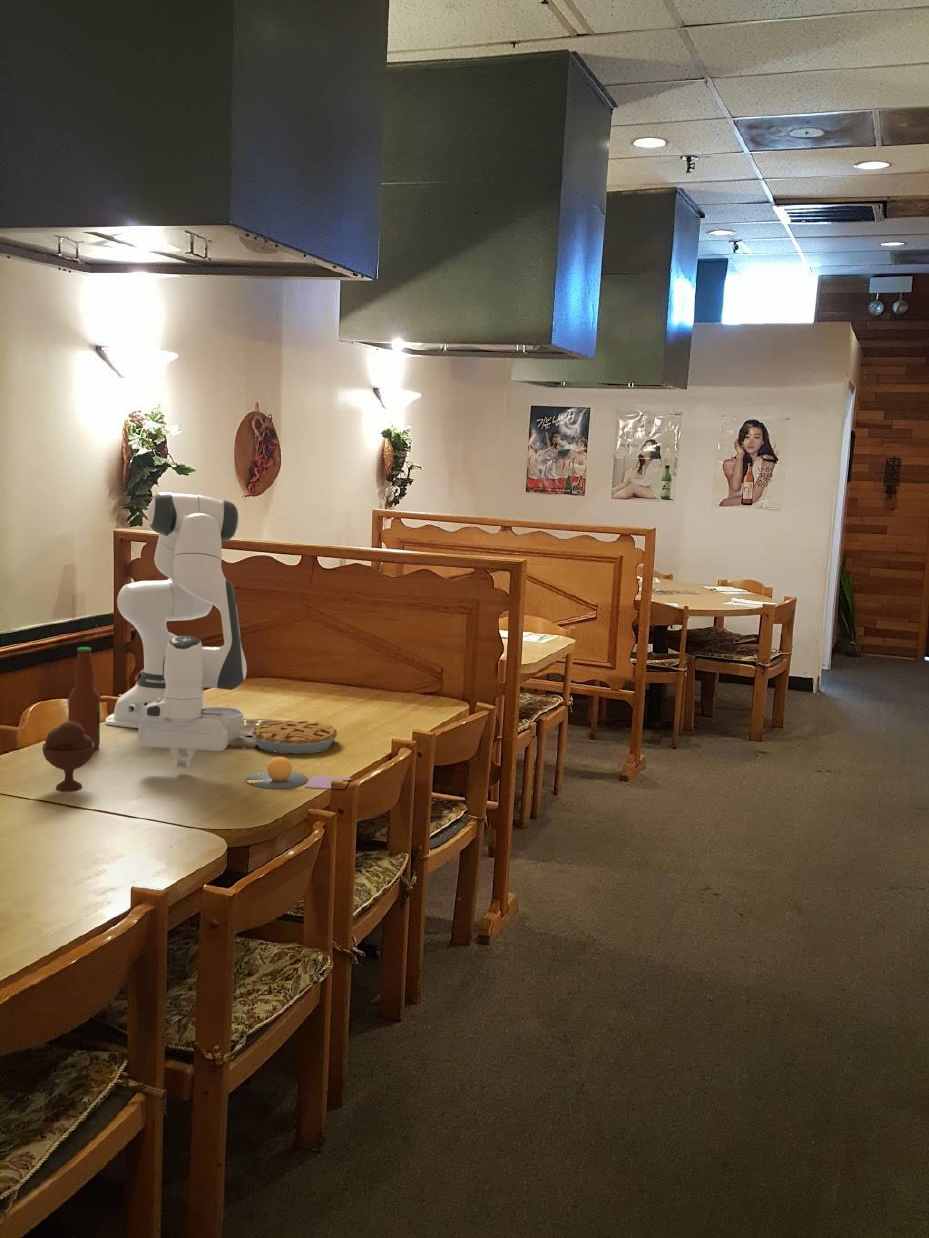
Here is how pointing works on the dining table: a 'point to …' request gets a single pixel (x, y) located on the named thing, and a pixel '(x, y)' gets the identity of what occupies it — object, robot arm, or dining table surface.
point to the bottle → (85, 698)
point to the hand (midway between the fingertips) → (182, 766)
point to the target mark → (291, 782)
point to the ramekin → (231, 720)
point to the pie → (294, 736)
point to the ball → (279, 769)
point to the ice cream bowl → (68, 752)
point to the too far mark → (322, 782)
